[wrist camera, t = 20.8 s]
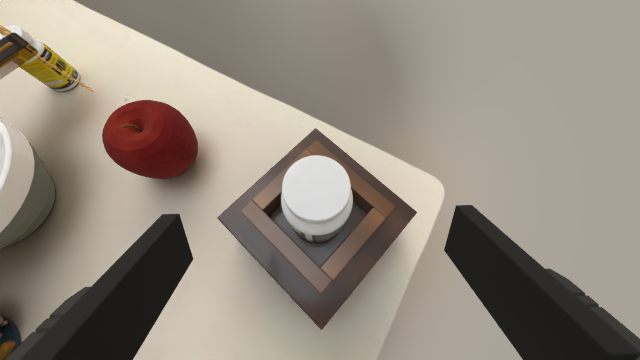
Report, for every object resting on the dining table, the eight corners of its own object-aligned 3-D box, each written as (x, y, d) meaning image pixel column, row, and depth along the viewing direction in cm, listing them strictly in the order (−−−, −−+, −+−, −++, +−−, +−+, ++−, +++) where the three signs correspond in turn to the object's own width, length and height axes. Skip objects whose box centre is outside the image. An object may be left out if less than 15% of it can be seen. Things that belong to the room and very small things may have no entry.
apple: (182, 120, 38) (139, 73, 29) (224, 155, 36) (192, 117, 27) (131, 162, 36) (66, 125, 26) (173, 202, 34) (119, 178, 25)
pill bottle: (347, 194, 26) (364, 155, 17) (340, 248, 24) (355, 236, 15) (295, 186, 27) (284, 142, 17) (284, 238, 25) (265, 221, 15)
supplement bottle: (81, 88, 40) (23, 44, 32) (50, 95, 40) (-17, 52, 32) (81, 66, 42) (26, 19, 34) (51, 73, 41) (-12, 26, 33)
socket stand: (320, 313, 30) (322, 339, 19) (239, 228, 33) (204, 211, 23) (394, 224, 33) (429, 205, 23) (315, 156, 37) (315, 112, 26)
